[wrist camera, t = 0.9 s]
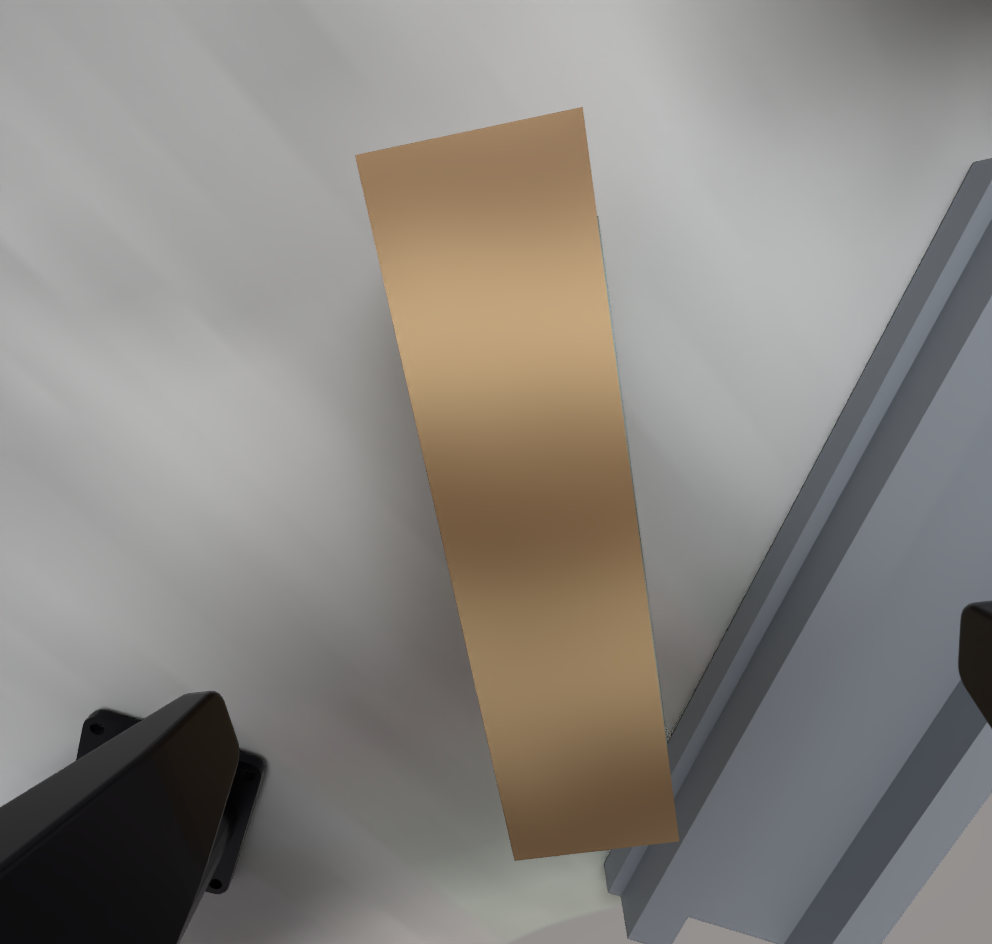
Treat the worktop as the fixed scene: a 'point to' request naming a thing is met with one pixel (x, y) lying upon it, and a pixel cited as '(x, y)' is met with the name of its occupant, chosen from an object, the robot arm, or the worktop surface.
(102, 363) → the worktop surface
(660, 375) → the worktop surface
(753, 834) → the rail
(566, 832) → the tan rectangular block
